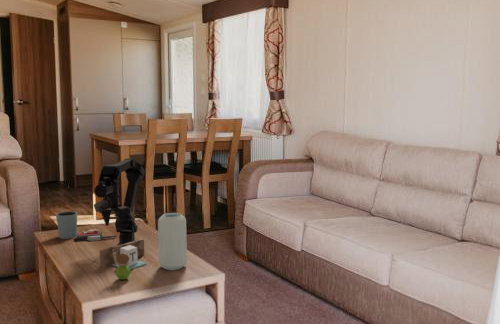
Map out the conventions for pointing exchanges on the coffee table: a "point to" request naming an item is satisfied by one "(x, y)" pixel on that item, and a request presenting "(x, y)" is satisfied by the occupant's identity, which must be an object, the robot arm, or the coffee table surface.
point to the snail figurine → (122, 265)
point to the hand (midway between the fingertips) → (113, 227)
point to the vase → (172, 241)
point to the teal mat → (132, 265)
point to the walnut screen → (107, 254)
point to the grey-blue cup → (67, 224)
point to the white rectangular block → (130, 254)
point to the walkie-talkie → (91, 236)
